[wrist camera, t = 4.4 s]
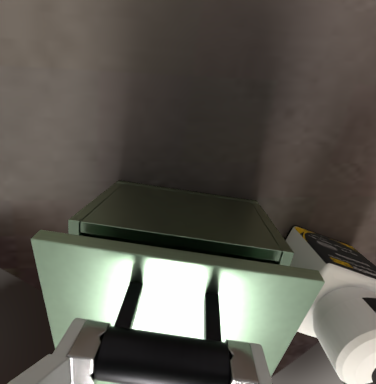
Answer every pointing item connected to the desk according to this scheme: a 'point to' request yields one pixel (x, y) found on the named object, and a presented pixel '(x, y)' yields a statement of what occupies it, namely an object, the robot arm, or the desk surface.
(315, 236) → the medicine bottle
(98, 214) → the green open box
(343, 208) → the desk surface
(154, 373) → the lid
